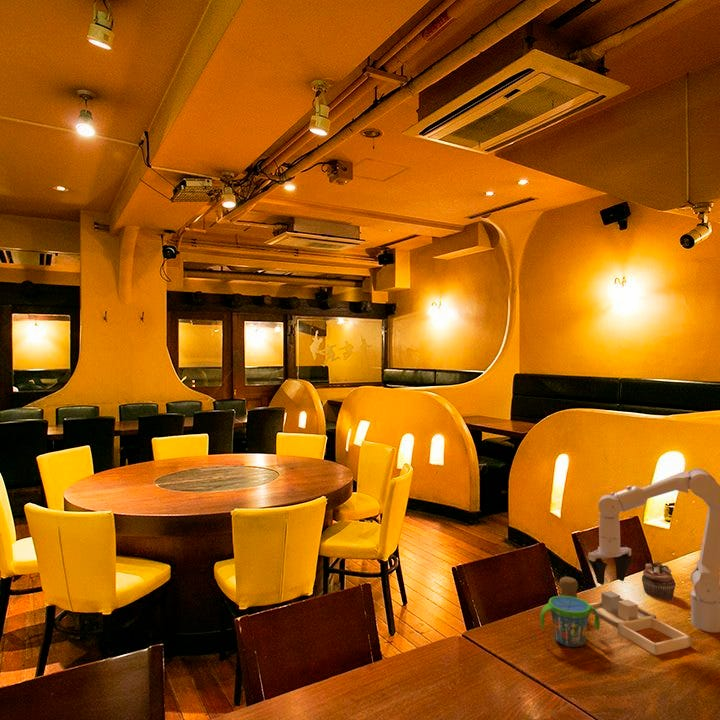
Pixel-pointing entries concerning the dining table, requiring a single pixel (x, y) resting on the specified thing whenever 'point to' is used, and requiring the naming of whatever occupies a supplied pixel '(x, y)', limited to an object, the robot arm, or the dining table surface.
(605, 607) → the grey rectangular prism
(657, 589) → the cupcake
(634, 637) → the pale wooden open box
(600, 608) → the beech tray
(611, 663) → the dining table surface
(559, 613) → the snack cup
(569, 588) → the cork
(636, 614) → the beige cuboid
